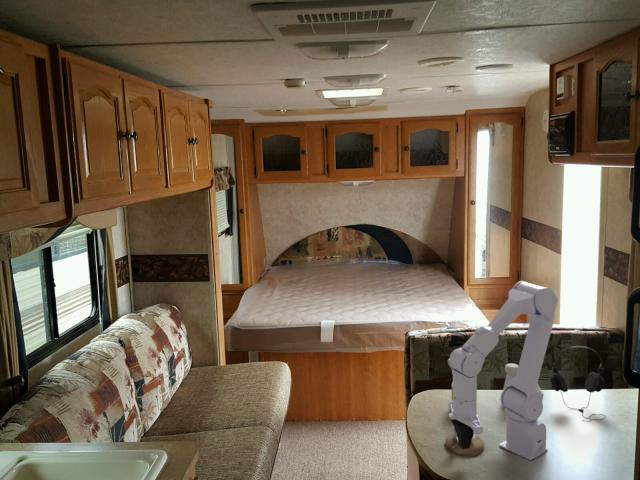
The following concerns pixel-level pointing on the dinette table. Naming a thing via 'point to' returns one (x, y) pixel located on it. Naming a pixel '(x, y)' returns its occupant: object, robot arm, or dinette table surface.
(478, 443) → the base
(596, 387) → the headphones
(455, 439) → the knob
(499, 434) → the dinette table surface
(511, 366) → the salt shaker
